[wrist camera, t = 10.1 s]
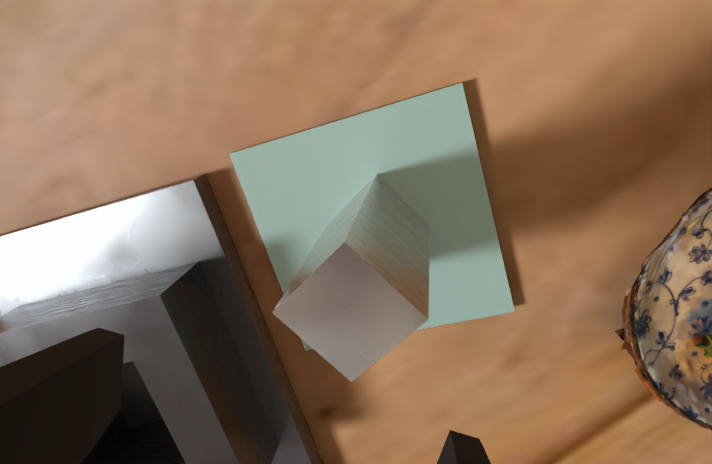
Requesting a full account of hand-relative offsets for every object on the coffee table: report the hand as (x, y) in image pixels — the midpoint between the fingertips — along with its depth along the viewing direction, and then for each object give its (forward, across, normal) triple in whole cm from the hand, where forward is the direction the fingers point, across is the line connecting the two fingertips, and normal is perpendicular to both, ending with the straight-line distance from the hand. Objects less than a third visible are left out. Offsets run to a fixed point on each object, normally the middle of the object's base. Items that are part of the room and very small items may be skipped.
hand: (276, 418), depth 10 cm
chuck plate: (+10, +8, +8) cm, 15 cm away
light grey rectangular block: (+9, -1, -1) cm, 10 cm away
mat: (+10, -1, -1) cm, 10 cm away
